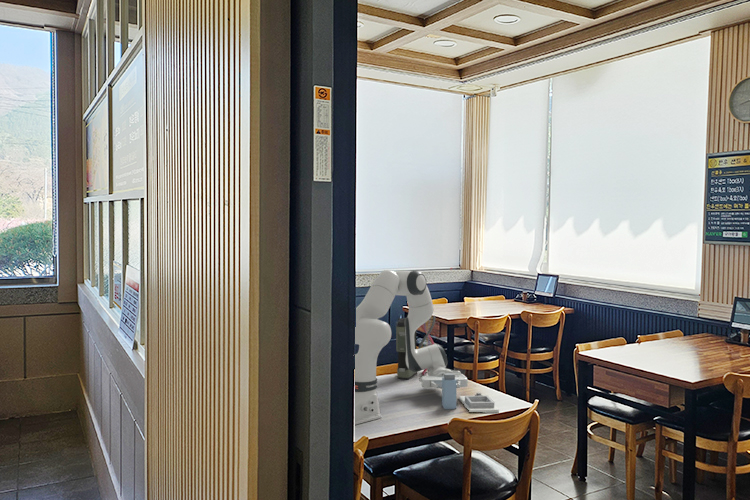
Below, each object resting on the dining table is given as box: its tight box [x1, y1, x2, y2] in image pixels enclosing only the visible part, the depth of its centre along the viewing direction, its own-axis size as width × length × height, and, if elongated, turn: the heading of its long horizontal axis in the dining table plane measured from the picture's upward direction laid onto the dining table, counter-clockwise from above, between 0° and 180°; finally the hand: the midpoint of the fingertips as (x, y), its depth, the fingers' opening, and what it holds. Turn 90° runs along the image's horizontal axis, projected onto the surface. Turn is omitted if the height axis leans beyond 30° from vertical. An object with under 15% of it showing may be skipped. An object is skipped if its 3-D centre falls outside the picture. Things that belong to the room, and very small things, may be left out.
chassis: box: [458, 392, 500, 414], centre depth 242 cm, size 20×12×3 cm, turn 4°
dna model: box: [417, 315, 436, 376], centre depth 296 cm, size 9×9×30 cm
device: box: [395, 317, 418, 381], centre depth 289 cm, size 14×8×30 cm, turn 156°
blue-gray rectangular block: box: [441, 373, 457, 410], centre depth 240 cm, size 5×5×14 cm
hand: (447, 386), depth 243 cm, fingers open, 8 cm apart
